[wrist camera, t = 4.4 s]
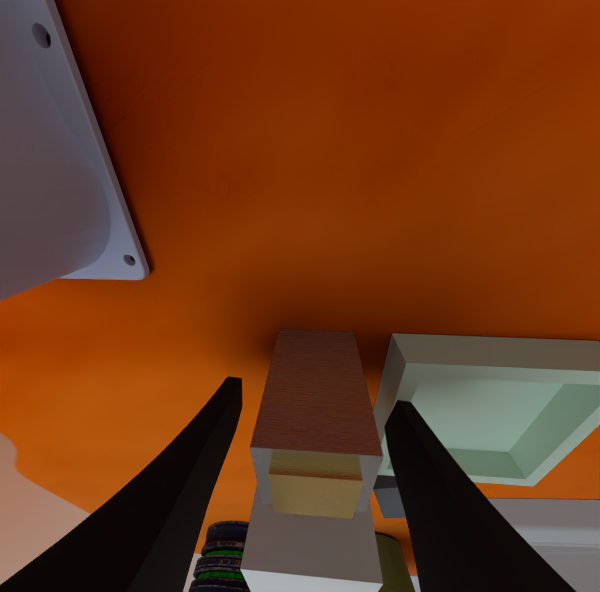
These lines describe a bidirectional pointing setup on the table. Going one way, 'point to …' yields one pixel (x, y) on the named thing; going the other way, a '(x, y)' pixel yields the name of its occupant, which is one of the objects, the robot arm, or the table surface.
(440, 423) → the tray
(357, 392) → the block
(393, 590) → the plant pot
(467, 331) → the table surface
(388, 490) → the square block
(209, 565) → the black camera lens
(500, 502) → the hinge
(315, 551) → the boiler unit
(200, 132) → the table surface
